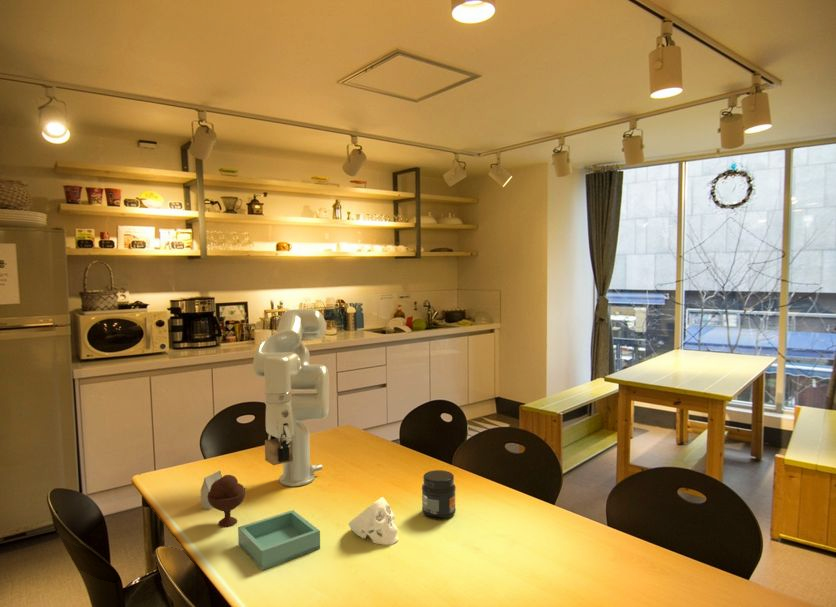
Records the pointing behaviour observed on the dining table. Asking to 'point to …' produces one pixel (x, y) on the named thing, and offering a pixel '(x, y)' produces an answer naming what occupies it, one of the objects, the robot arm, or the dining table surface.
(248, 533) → the stoneware box
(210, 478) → the tea bag
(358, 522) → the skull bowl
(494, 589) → the dining table surface
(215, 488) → the ice cream bowl
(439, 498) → the supplement container
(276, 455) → the walnut cube
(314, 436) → the dining table surface
